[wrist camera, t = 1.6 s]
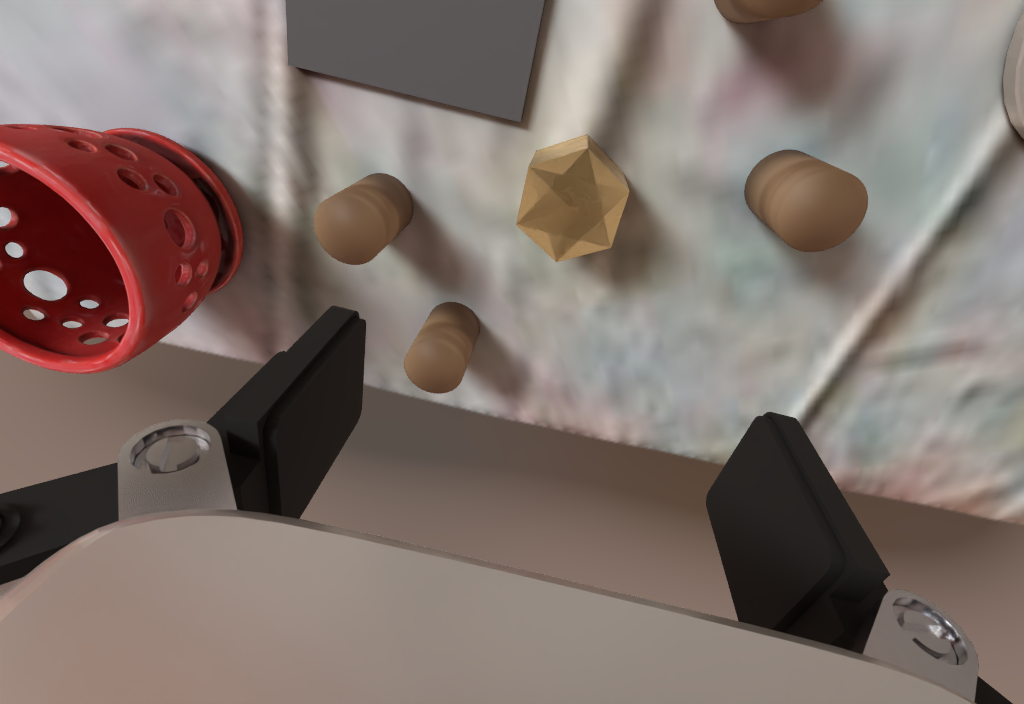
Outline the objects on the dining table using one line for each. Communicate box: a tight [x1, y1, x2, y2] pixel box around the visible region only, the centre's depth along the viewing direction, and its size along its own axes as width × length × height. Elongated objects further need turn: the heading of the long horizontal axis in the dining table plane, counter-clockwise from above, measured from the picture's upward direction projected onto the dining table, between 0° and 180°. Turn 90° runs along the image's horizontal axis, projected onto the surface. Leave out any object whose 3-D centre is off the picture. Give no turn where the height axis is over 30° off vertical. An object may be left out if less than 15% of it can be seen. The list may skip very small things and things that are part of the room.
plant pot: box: [0, 124, 243, 374], centre depth 30 cm, size 13×13×12 cm
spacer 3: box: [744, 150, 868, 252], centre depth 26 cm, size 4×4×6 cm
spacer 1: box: [314, 173, 413, 265], centre depth 30 cm, size 4×4×6 cm
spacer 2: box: [404, 302, 480, 393], centre depth 34 cm, size 4×4×6 cm
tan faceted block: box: [516, 134, 630, 262], centre depth 28 cm, size 6×6×5 cm
